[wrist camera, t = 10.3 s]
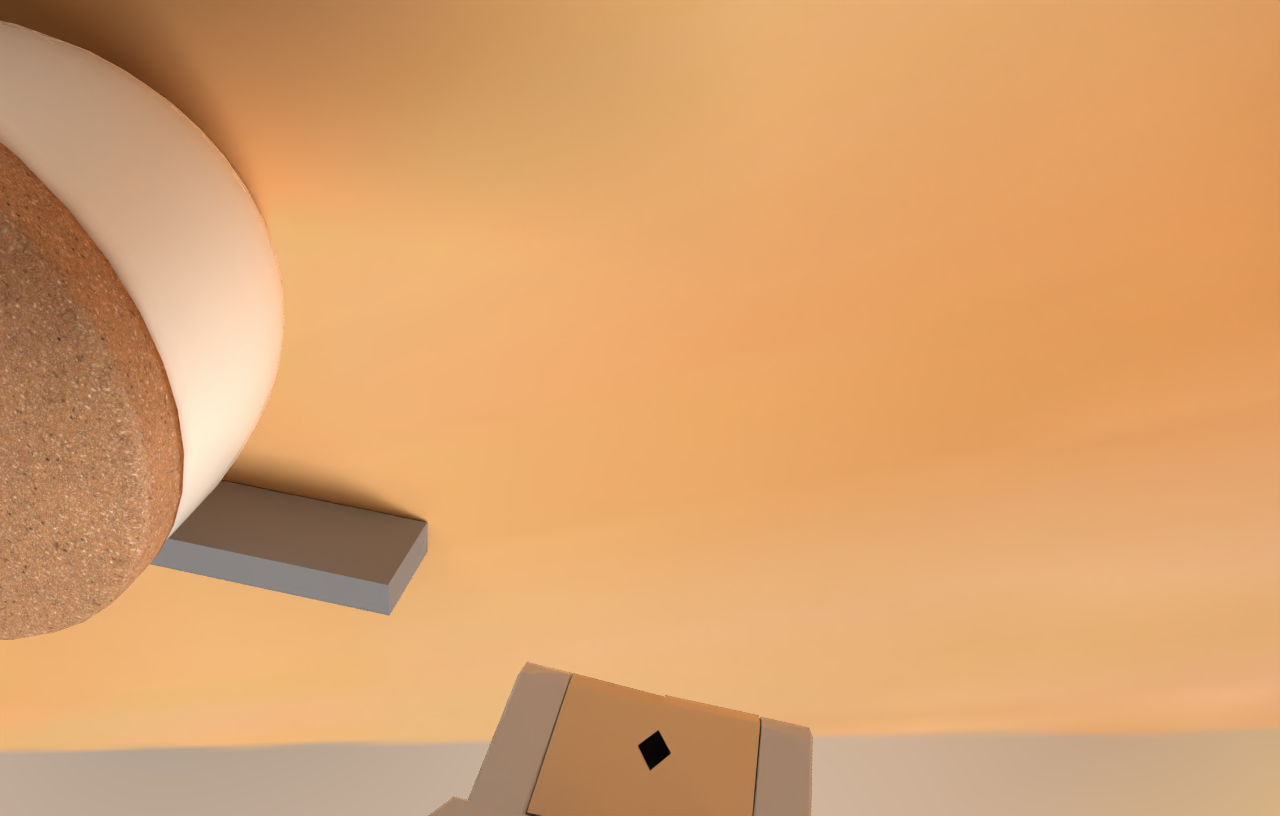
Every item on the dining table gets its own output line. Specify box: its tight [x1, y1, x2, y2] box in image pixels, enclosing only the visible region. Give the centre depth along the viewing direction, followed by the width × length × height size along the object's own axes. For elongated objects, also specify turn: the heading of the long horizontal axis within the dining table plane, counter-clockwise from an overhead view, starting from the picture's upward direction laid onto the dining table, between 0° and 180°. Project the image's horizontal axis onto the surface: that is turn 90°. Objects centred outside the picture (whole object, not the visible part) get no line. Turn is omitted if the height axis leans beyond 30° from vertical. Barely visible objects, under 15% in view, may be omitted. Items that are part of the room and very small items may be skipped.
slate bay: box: [150, 480, 427, 615], centre depth 19 cm, size 14×16×2 cm
